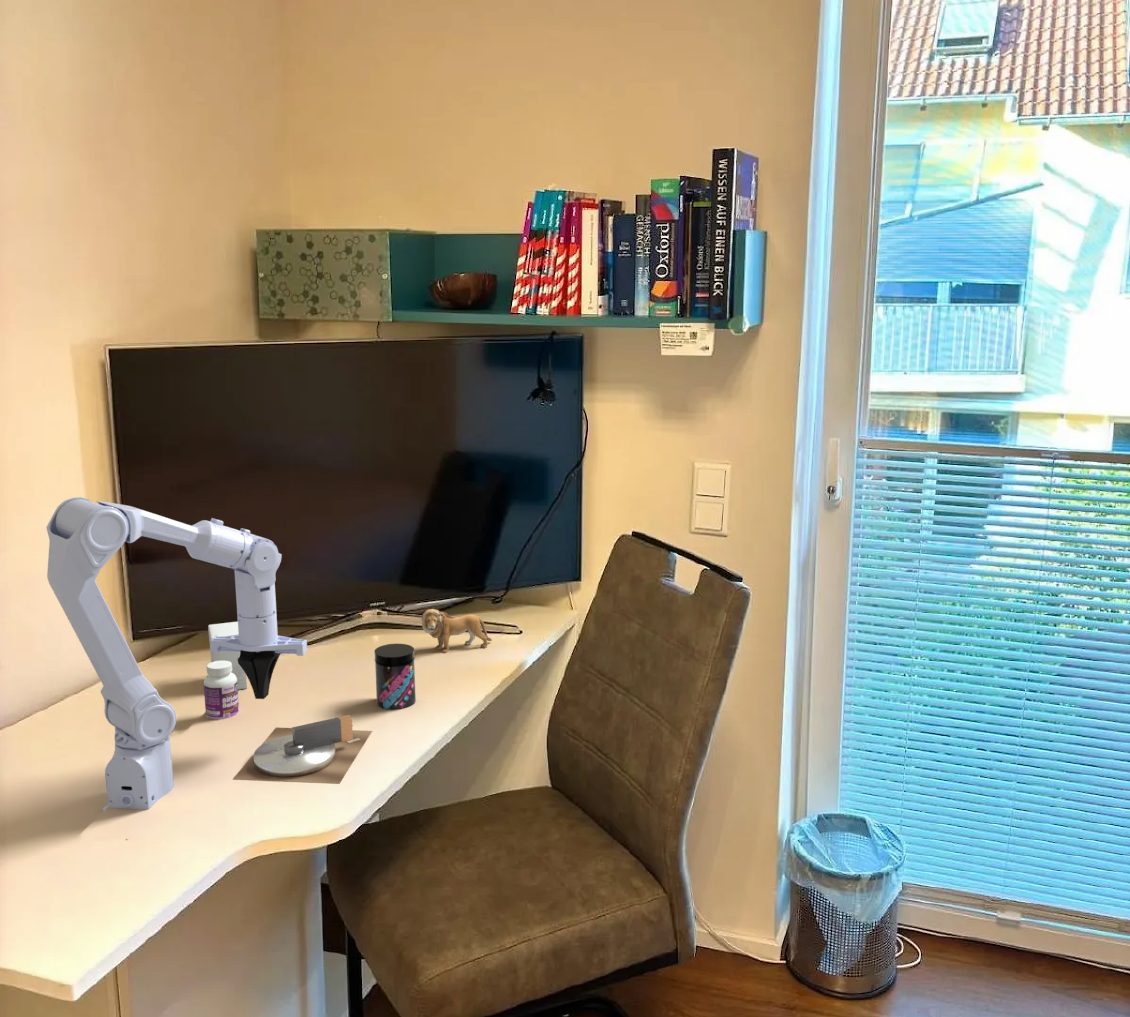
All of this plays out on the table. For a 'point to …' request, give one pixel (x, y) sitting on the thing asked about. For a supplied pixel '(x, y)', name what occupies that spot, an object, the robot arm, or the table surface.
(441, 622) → the lion figurine
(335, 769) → the dial board
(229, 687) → the pill bottle
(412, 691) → the supplement container
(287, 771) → the dial
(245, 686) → the small box
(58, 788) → the table surface
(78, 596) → the robot arm
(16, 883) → the table surface
